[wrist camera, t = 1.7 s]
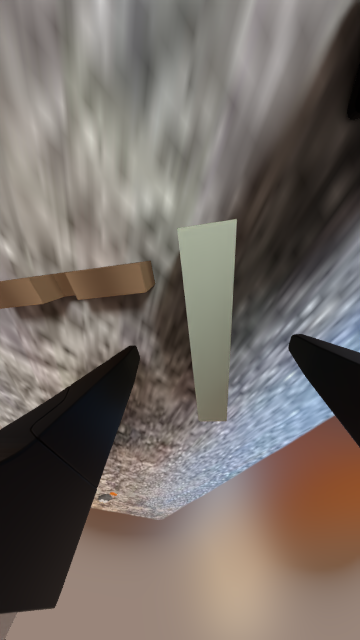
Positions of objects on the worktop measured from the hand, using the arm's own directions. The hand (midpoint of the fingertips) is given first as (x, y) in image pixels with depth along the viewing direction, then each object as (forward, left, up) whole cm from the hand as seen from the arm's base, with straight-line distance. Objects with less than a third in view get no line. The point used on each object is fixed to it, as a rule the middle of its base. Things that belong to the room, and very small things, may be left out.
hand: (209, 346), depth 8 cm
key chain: (+33, +63, -7) cm, 72 cm away
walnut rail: (+11, -4, -6) cm, 13 cm away
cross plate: (0, 0, -6) cm, 6 cm away
